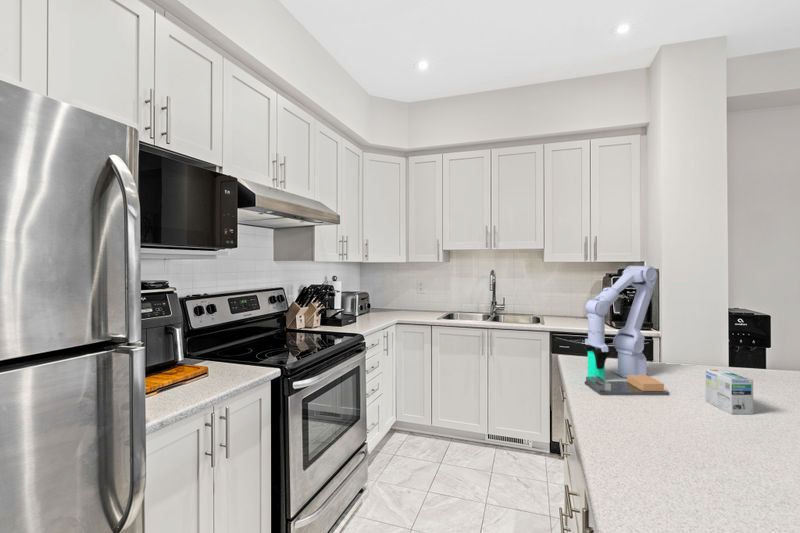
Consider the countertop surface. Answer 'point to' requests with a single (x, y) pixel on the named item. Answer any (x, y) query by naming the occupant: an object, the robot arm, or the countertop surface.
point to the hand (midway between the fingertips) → (596, 366)
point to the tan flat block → (645, 383)
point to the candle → (594, 366)
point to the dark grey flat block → (617, 387)
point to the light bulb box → (729, 391)
